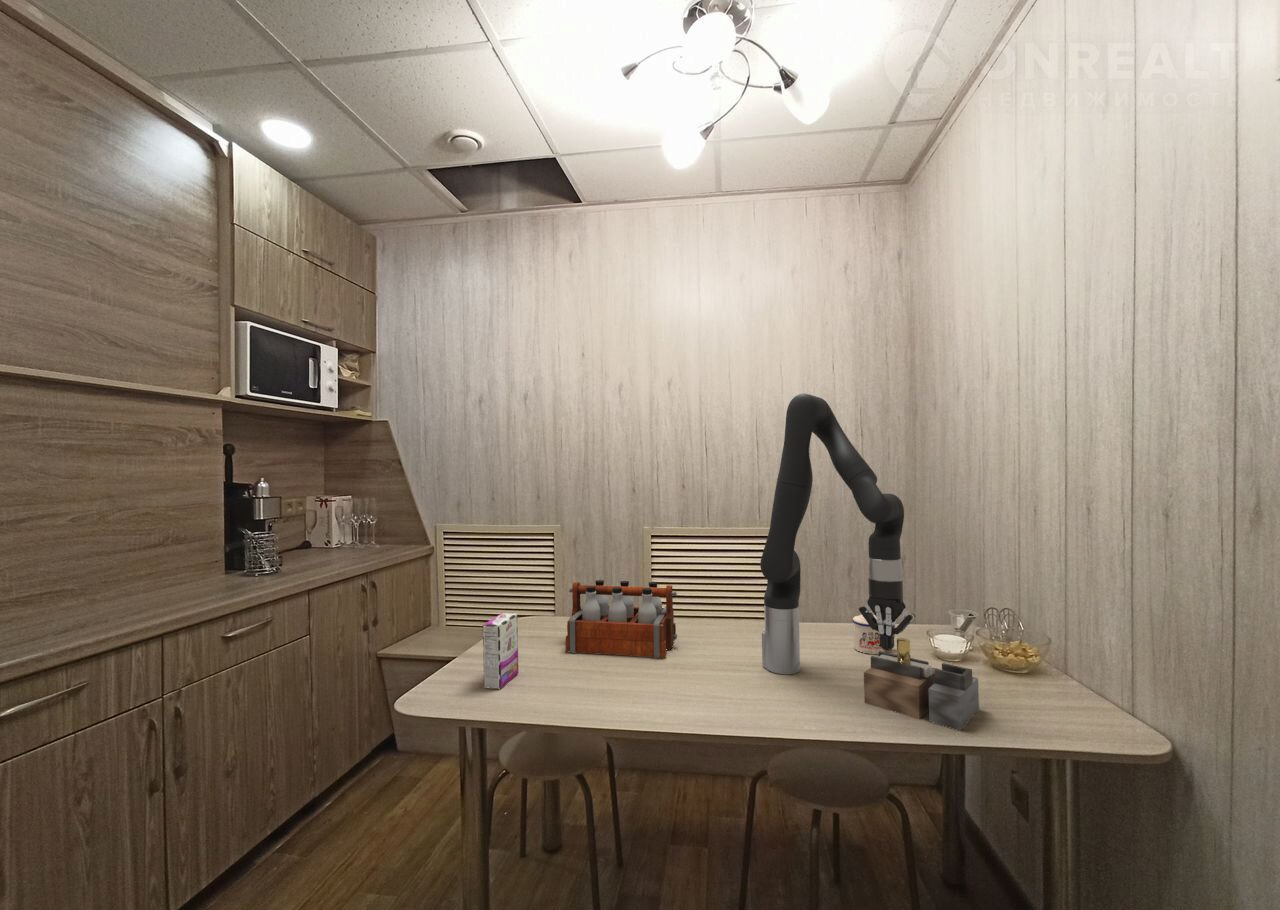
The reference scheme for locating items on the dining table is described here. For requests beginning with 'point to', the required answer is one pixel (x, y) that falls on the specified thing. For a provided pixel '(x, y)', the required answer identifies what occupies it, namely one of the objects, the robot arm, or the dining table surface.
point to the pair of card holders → (922, 691)
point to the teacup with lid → (866, 636)
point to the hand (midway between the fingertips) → (887, 649)
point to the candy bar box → (500, 650)
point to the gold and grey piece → (908, 657)
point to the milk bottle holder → (621, 620)
